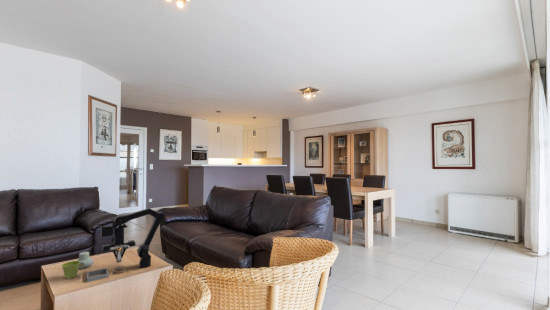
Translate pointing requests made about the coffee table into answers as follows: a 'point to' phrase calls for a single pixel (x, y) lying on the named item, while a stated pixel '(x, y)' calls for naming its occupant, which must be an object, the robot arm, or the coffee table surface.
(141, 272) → the coffee table surface
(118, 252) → the lock pin
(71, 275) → the plant pot
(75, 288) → the coffee table surface
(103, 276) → the tray
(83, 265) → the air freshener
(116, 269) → the tensioner block
